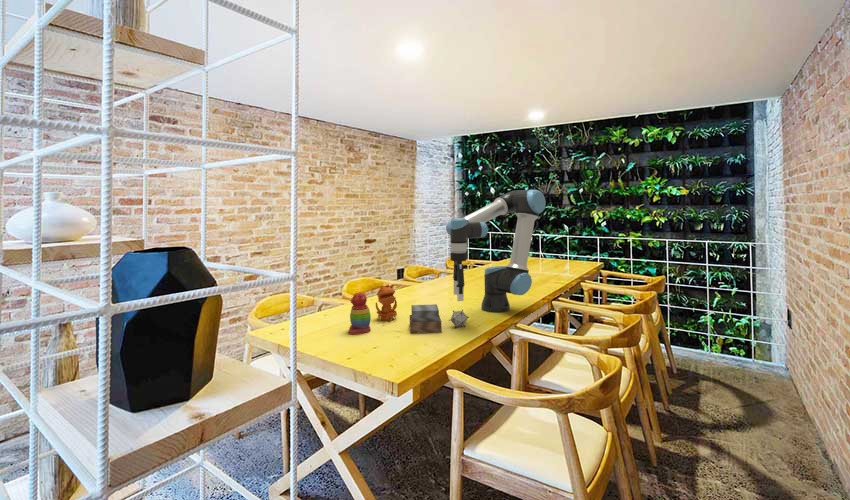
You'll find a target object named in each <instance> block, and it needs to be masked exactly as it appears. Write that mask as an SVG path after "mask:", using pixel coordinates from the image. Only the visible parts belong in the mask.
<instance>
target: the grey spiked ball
mask: <svg viewBox="0 0 850 500" xmlns="http://www.w3.org/2000/svg"><path fill="white" fill-rule="evenodd" d="M452 312H453V313H452V315H451V317H450V319H449V320H448V322H449V321H450V322H451V323H452V324H453V325H454V329H457V328H459V327H460V328H461V327H464V328H466V327H467V326H466V323H467V321H468V319H470V316H468V315H467V314H466V313H465V312H464V309H462V310H456V311H455V310H452Z"/></svg>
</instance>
